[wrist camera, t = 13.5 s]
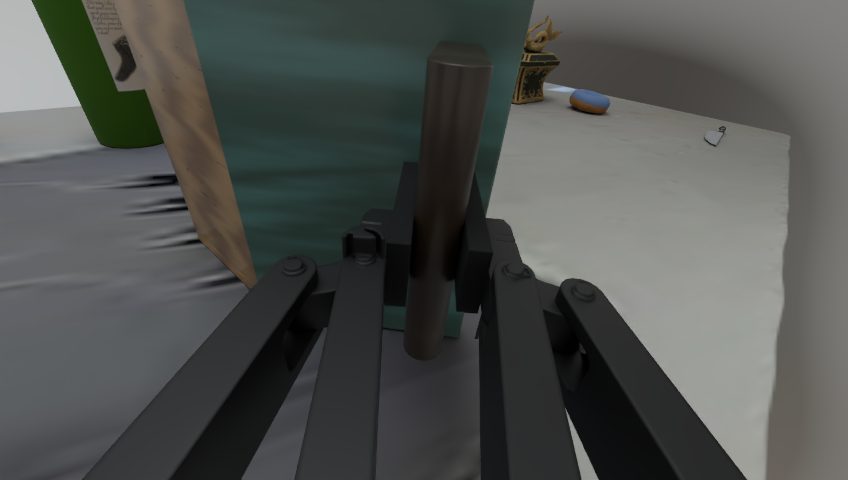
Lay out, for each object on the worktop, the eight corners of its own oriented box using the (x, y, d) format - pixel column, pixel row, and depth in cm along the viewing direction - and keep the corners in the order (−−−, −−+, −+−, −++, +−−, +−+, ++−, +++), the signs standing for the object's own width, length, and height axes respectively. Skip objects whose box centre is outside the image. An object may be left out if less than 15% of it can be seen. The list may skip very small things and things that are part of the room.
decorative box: (516, 106, 86) (538, 14, 75) (487, 97, 92) (503, 10, 80) (556, 99, 98) (580, 19, 86) (529, 92, 103) (548, 15, 92)
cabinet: (394, 232, 34) (409, -95, 20) (263, 302, 25) (129, -206, 11) (328, 193, 40) (304, -86, 26) (199, 239, 30) (56, -155, 17)
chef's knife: (698, 143, 73) (715, 146, 71) (701, 138, 72) (718, 141, 70) (710, 128, 85) (724, 130, 83) (712, 123, 84) (727, 126, 82)
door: (456, 432, 18) (692, -367, 5) (209, 395, 19) (-211, -431, 5) (458, 327, 24) (565, -158, 11) (271, 301, 25) (150, -196, 11)
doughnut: (613, 113, 89) (620, 95, 86) (593, 117, 84) (600, 97, 81) (580, 104, 95) (585, 86, 93) (559, 106, 90) (565, 88, 87)
